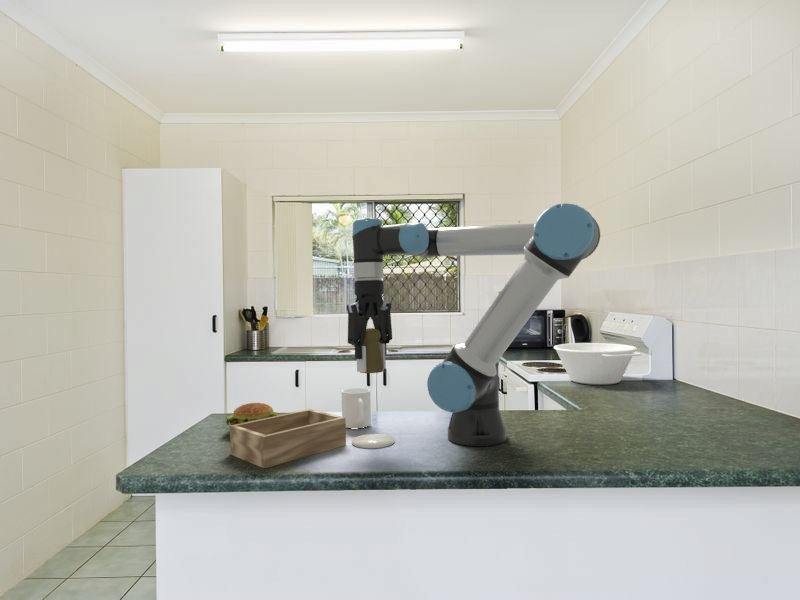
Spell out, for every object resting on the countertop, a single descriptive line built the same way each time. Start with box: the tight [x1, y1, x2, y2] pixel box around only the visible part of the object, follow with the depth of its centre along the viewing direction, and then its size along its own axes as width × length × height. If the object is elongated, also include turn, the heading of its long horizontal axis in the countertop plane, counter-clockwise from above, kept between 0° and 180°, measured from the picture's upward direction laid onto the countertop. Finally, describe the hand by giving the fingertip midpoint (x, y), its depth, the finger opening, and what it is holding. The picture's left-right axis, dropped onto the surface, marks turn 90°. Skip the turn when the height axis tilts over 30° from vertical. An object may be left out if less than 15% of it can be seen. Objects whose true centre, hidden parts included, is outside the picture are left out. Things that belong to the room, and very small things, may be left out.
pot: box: [553, 342, 642, 386], centre depth 217 cm, size 40×32×14 cm
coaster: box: [351, 433, 396, 450], centre depth 137 cm, size 11×11×1 cm
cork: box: [360, 327, 384, 374], centre depth 136 cm, size 6×6×11 cm
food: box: [225, 402, 279, 426], centre depth 150 cm, size 14×14×8 cm
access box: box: [229, 408, 347, 469], centre depth 132 cm, size 15×23×7 cm, turn 135°
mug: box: [341, 387, 372, 428], centre depth 152 cm, size 12×8×10 cm
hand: (371, 369), depth 137 cm, fingers closed on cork, 6 cm apart
